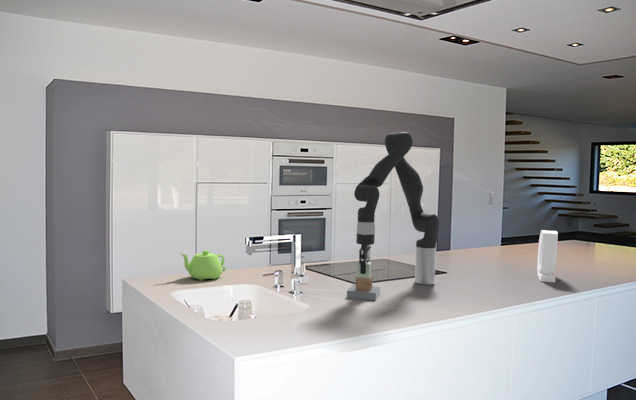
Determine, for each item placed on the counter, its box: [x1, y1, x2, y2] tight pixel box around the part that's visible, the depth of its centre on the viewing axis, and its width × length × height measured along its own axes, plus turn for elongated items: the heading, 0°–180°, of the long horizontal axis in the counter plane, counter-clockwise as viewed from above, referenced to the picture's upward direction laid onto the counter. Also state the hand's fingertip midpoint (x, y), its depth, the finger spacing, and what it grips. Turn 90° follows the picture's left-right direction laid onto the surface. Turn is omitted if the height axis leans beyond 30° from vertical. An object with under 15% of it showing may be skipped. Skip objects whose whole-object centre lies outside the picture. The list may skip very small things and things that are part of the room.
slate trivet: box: [346, 284, 381, 301], centre depth 221 cm, size 12×12×3 cm
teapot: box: [180, 249, 226, 281], centre depth 247 cm, size 22×15×13 cm
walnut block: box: [355, 275, 373, 291], centre depth 220 cm, size 6×6×5 cm
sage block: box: [356, 261, 373, 279], centre depth 220 cm, size 5×5×6 cm
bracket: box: [536, 229, 559, 283], centre depth 268 cm, size 7×21×25 cm, turn 162°
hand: (364, 272), depth 220 cm, fingers open, 6 cm apart
